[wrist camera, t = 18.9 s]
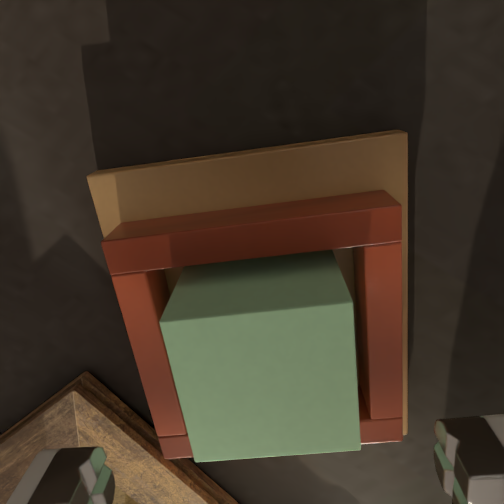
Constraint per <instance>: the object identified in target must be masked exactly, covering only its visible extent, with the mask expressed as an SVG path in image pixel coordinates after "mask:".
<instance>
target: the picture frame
mask: <svg viewBox="0 0 504 504" xmlns="http://www.w3.org/2000/svg"><path fill="white" fill-rule="evenodd" d="M96 446H99V447H103V448H104V451H105V453H106V455H107V458H106V461H105V463H104V464H105V465H106V466H107V467H109V468H110V469H111V470H112V472H113V475H114V478H115V494H114V500H113V503H112V504H239V503H238V502H237V501H236V500H234V499H233V498H232V497H231V496H230V495H229V494H228V493H226V492H225V491H224V490H223V489H222V488H221V487H220V486H218V485H217V484H216V483H215V482H214V481H213V480H212V479H210V478H209V477H208V476H207V475H206V474H205V473H204V472H202V471H201V470H200V469H199V468H198V467H197V466H196V465H194V464H193V463H192V462H191V461H190V460H189V459H187V458H174V459H164V457H163V453H162V450H161V446H160V443H159V439H158V436H157V433H156V431H155V430H154V429H153V428H152V427H151V426H150V425H149V424H147V423H146V422H145V421H144V420H143V419H142V418H141V417H139V416H138V415H137V414H136V413H135V412H134V411H133V410H131V409H130V408H129V407H128V406H127V405H126V404H125V403H123V402H122V401H121V400H120V399H119V398H118V397H117V396H115V395H114V394H113V393H112V392H111V391H110V390H109V389H107V388H106V387H105V386H104V385H103V384H102V383H101V382H99V381H98V380H97V379H96V378H95V377H94V376H92V375H91V374H90V373H89V372H88V371H85V372H84V373H82V374H81V375H80V376H78V377H77V378H76V379H74V380H73V381H72V382H70V383H69V384H68V385H66V386H65V387H64V388H62V389H61V390H60V391H59V392H57V393H56V394H55V395H53V396H52V397H51V398H49V399H48V400H47V401H45V402H44V403H43V404H41V405H40V406H39V407H37V408H36V409H35V410H33V411H32V412H31V413H29V414H28V415H27V416H26V417H24V418H23V419H22V420H20V421H19V422H18V423H16V424H15V425H14V426H12V427H11V428H10V429H8V430H7V431H6V432H4V433H3V434H2V435H0V504H6V503H7V501H8V500H9V498H10V496H11V495H12V493H13V492H14V490H15V488H16V487H17V485H18V484H19V482H20V480H21V479H22V477H23V476H24V474H25V472H26V471H27V469H28V467H29V466H30V464H31V463H32V461H33V459H34V458H35V456H36V455H37V454H38V453H39V452H40V451H42V450H43V449H61V448H76V447H96Z"/></svg>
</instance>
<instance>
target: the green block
mask: <svg viewBox="0 0 504 504" xmlns="http://www.w3.org/2000/svg"><path fill="white" fill-rule="evenodd" d="M159 323H160V327H161V331H162V335H163V339H164V343H165V347H166V350H167V354H168V358H169V362H170V366H171V370H172V374H173V378H174V382H175V386H176V390H177V394H178V398H179V402H180V405H181V409H182V413H183V417H184V421H185V425H186V429H187V433H188V437H189V441H190V445H191V449H192V453H193V456H194V460H195V462H207V461H221V460H234V459H247V458H260V457H274V456H287V455H300V454H314V453H327V452H340V451H354V450H361V439H360V421H359V403H358V384H357V366H356V347H355V329H354V310H353V301H352V298H351V296H350V293H349V291H348V288H347V286H346V283H345V281H344V278H343V276H342V273H341V271H340V268H339V266H338V263H337V261H336V258H335V256H334V253H333V251H332V249H331V250H323V251H314V252H305V253H296V254H288V255H279V256H270V257H262V258H253V259H244V260H235V261H227V262H218V263H209V264H201V265H192V266H184V268H183V270H182V273H181V275H180V277H179V279H178V281H177V284H176V286H175V288H174V290H173V292H172V295H171V297H170V299H169V301H168V303H167V306H166V308H165V310H164V312H163V314H162V317H161V319H160V321H159Z"/></svg>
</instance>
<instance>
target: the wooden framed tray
mask: <svg viewBox="0 0 504 504" xmlns="http://www.w3.org/2000/svg"><path fill="white" fill-rule="evenodd" d="M87 181H88V184H89V188H90V191H91V195H92V198H93V202H94V205H95V209H96V212H97V216H98V219H99V222H100V226H101V229H102V233H103V236H104V239H103V240H102V241H101V245H102V248H103V252H104V255H105V259H106V262H107V266H108V269H109V272H110V275H112V276H111V278H112V281H113V285H114V288H115V292H116V295H117V299H118V302H119V306H120V309H121V312H122V316H123V319H124V323H125V326H126V330H127V333H128V336H129V340H130V343H131V347H132V350H133V354H134V357H135V361H136V364H137V367H138V371H139V374H140V378H141V381H142V385H143V388H144V391H145V395H146V398H147V402H148V405H149V409H150V412H151V416H152V419H153V422H154V426H155V429H156V433H157V436H158V439H159V443H160V446H161V450H162V453H163V457H164V459H174V458H187V457H194V456H193V453H192V449H191V445H190V441H189V437H188V433H187V429H186V425H185V421H184V417H183V413H182V409H181V405H180V402H179V398H178V394H177V390H176V386H175V382H174V378H173V374H172V370H171V366H170V362H169V358H168V354H167V350H166V347H165V343H164V339H163V335H162V331H161V327H160V323H159V321H160V319H161V317H162V314H163V312H164V310H165V308H166V306H167V303H168V301H169V299H170V297H171V295H172V292H173V290H174V288H175V286H176V284H177V281H178V279H179V277H180V275H181V273H182V270H183V268H184V266H192V265H201V264H209V263H218V262H227V261H235V260H244V259H253V258H262V257H270V256H279V255H288V254H296V253H305V252H314V251H323V250H331V249H332V251H333V253H334V256H335V258H336V261H337V263H338V266H339V268H340V271H341V273H342V276H343V278H344V281H345V283H346V286H347V288H348V291H349V293H350V296H351V298H352V301H353V310H354V329H355V347H356V366H357V384H358V403H359V421H360V439H361V444H371V443H384V442H397V441H402V440H403V435H405V434H407V433H408V134H407V132H404V131H401V130H390V131H383V132H376V133H368V134H361V135H354V136H346V137H339V138H332V139H325V140H317V141H310V142H303V143H295V144H288V145H281V146H273V147H266V148H259V149H251V150H244V151H237V152H229V153H222V154H215V155H207V156H200V157H193V158H185V159H178V160H171V161H163V162H156V163H149V164H141V165H134V166H127V167H119V168H112V169H105V170H97V171H95V172H93V173H91V174H89V175H88V176H87Z"/></svg>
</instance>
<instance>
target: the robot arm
mask: <svg viewBox="0 0 504 504" xmlns="http://www.w3.org/2000/svg"><path fill="white" fill-rule="evenodd" d="M434 433H435V435H436V437H437V439H438V443H437V444H436V445H435V446H434V461H435V467H436V472H437V475H438V478H439V481H440V483H441V486H442V488H443V490H444V491H445V492H446V493H447V494H449V495H450V496H451V497H452V504H504V414H497V415H485V416H473V417H462V418H450V419H439V420H436V422H435V429H434ZM106 458H107V455H106V453H105V451H104V448H103V447H99V446H96V447H76V448H61V449H43V450H42V451H40V452H39V453H38V454H37V455H36V456H35V458H34V459H33V461H32V463H31V464H30V466H29V467H28V469H27V471H26V472H25V474H24V476H23V477H22V479H21V480H20V482H19V484H18V485H17V487H16V488H15V490H14V492H13V493H12V495H11V496H10V498H9V500H8V501H7V503H6V504H112V503H113V500H114V494H115V478H114V475H113V472H112V470H111V469H110V468H109V467H107V466H106V465H105V464H104V463H105V461H106Z"/></svg>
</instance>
